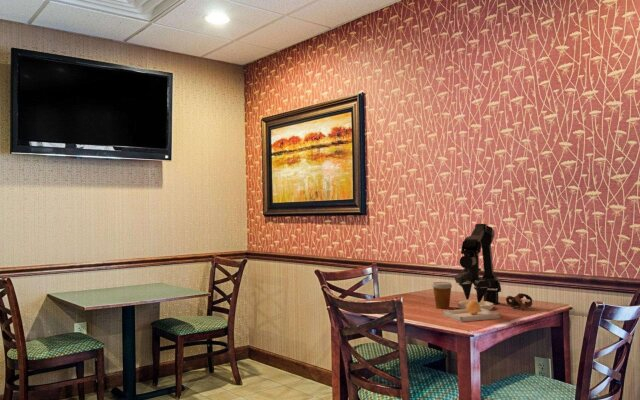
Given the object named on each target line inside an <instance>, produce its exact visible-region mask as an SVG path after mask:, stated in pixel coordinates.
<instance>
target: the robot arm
mask: <svg viewBox="0 0 640 400" xmlns="http://www.w3.org/2000/svg"><path fill="white" fill-rule="evenodd" d="M493 240H495V230H494V228H493V227H491V226H489V225H488V224H486V223H476V224H475V225H474V228H473V231H472V232H471V234H470V235H469V236H466V237H465V238H464V239H463V241H462V245H461V252H460V254H462V255H463V256H461V257H460V258H459V265H460V266H461V267H462V268H463V270H462V271H463V272H460V273H458V274H456V275H453V277H454V280H455V283H456V284H457V285H458V286H460V287H461V289H462V291H463V293H464V296H465V299H466V300H469V299H470V296H471V291H472V286H473V289H474V290H475V292H476V299H477V300H476V301H478V302H481V301H487V302H491V303H494V305H499V304H501V302H499V293H501V292H502V286H501V282H500V280H499V276H498V275H497V274H496V272H495V271H494V261H493V252H492V243H493ZM480 253H481V254H482V262H483V263H482V264H483V272H484V273H483V275H482V277H480V272H481V271H482V268H480V264H479V263H480V260H479V257H480V256H479V255H480Z"/></svg>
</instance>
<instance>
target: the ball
mask: <svg viewBox="0 0 640 400" xmlns="http://www.w3.org/2000/svg"><path fill="white" fill-rule="evenodd" d="M476 301H477V300H476ZM476 301H470V302H469V303H468V304H467V306H466V308H467V311H468V312H469V313H470V314H477V313H478V312H479V311H480V305H479V303H478V302H476Z"/></svg>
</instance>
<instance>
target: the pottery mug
mask: <svg viewBox="0 0 640 400" xmlns="http://www.w3.org/2000/svg"><path fill="white" fill-rule="evenodd" d="M524 298H525V299H526V300H529V301H524V303H523V299H524ZM505 301H506V303H507V304H508V305H509V306H510V307H511V308H512V307H513V308H514V307H519V309H520V310H521V311H524V310H525V309H529V308H532V306H533V298H532V297H531V296H530V295H528V294H526V293H523V292H521V293H518V294H516V295H515V296H512V295H508V296H506V298H505Z"/></svg>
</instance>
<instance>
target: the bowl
mask: <svg viewBox="0 0 640 400" xmlns="http://www.w3.org/2000/svg"><path fill="white" fill-rule="evenodd" d="M470 301H476V302H478V301H477V300H473V299H472V300H469V299H468V300H461V301H458V302H457V304H456V305H457V307H458V308H459V310H461V309H467V308H466V306H467V304H468V303H469V302H470ZM478 303H479V305H480V308H483V309H486V310H490V311H492V310H493V309H494V308H493V307H494V306H495V304H494V303H491V302H487V301H484V300H481V302H478Z"/></svg>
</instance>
